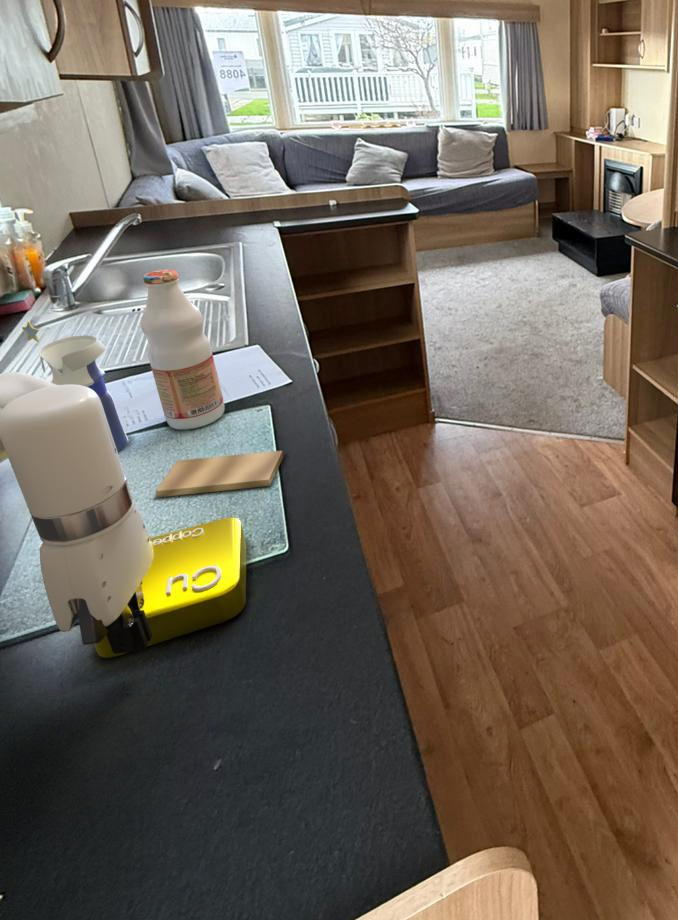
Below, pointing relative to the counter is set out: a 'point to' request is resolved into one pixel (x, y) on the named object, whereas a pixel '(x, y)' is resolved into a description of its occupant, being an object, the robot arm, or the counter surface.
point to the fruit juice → (180, 354)
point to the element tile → (192, 581)
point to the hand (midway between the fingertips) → (133, 645)
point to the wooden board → (220, 473)
